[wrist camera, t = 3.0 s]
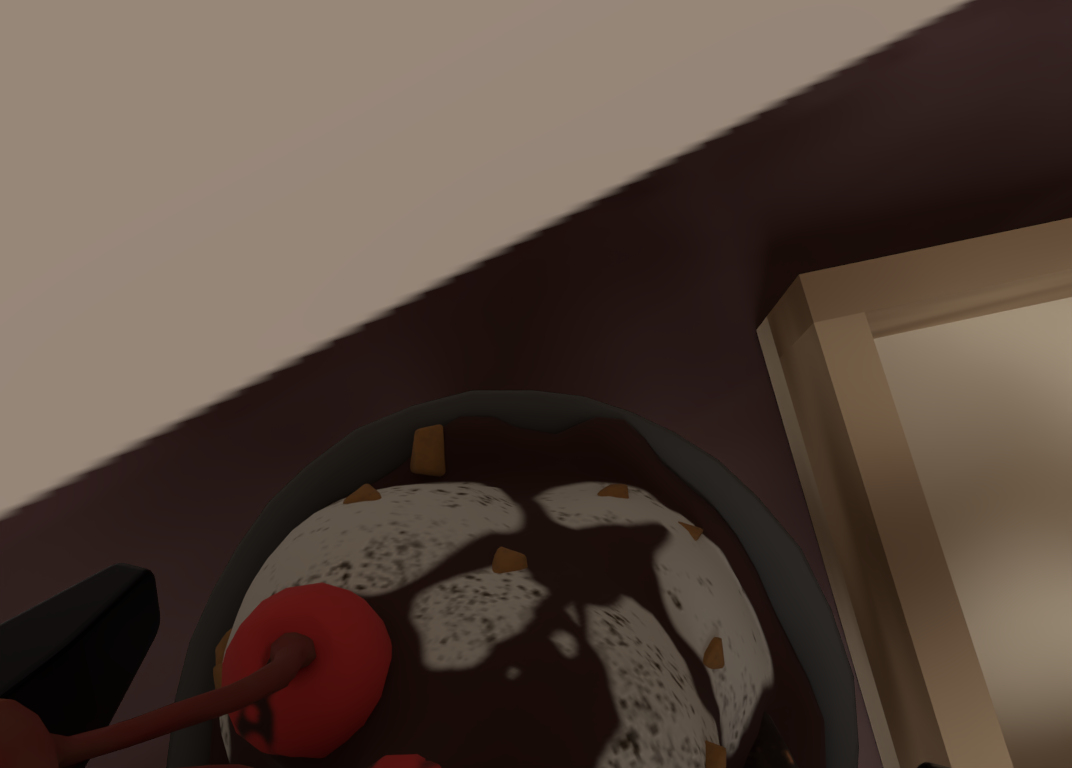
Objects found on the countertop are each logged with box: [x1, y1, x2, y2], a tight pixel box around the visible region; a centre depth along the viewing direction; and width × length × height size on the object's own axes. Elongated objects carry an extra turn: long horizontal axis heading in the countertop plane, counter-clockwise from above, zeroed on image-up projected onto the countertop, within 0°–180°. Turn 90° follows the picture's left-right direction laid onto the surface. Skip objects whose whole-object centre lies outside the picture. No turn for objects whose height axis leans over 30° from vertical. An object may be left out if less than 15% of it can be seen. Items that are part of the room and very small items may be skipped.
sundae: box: [0, 390, 859, 768], centre depth 11 cm, size 7×7×15 cm
